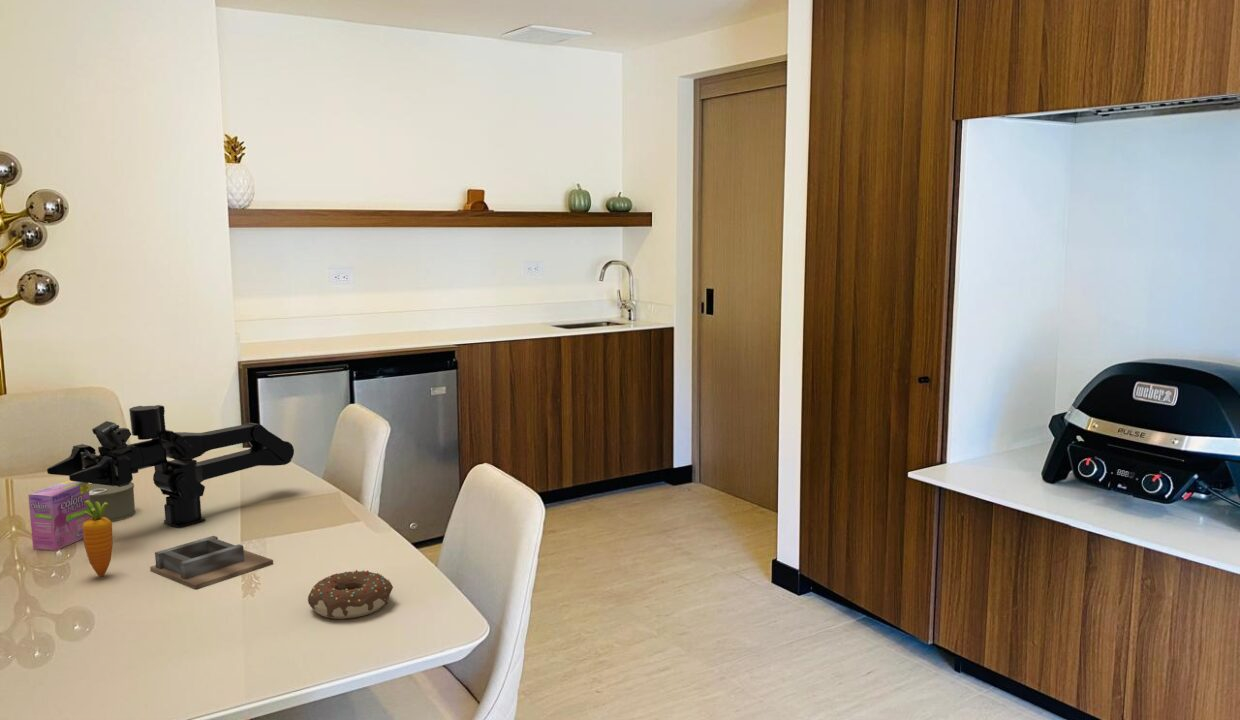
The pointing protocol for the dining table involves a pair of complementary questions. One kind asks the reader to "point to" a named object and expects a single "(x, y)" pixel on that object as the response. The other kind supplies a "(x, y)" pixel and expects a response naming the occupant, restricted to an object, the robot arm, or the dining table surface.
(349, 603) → the donut
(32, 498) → the box
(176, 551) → the grey frame on base
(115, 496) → the can
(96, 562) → the carrot
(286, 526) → the dining table surface
